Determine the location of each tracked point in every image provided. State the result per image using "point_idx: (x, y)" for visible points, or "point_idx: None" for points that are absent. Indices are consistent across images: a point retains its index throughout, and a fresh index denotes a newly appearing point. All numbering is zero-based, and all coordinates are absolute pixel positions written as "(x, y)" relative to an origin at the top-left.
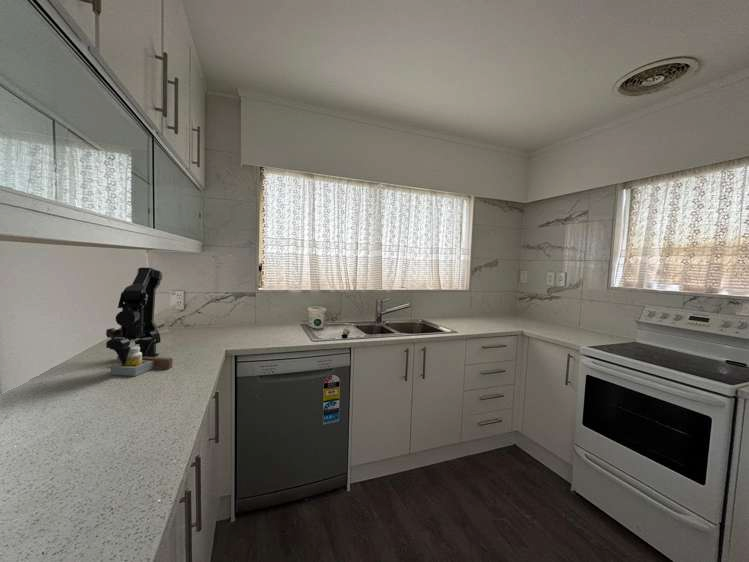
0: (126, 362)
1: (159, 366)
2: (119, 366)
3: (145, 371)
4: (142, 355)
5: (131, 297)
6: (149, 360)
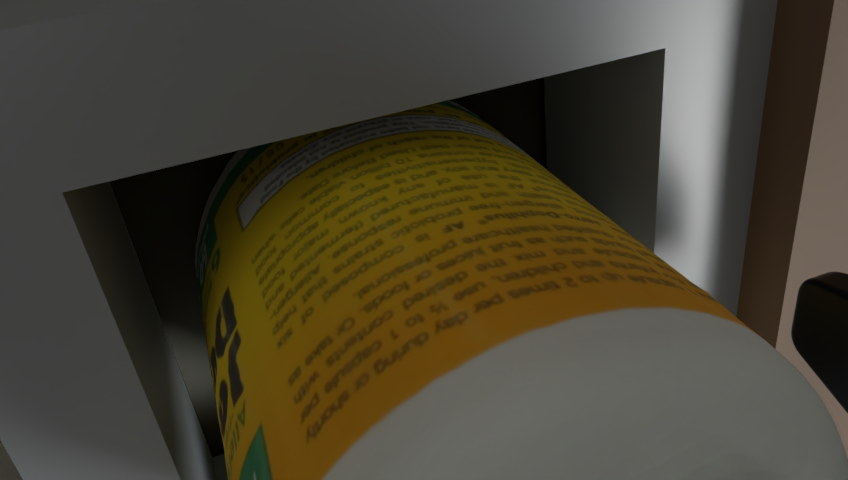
0: (228, 436)
1: None
2: (21, 299)
3: None
4: (831, 349)
5: None
6: None
